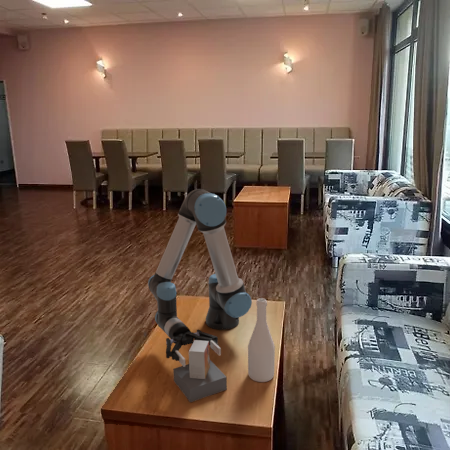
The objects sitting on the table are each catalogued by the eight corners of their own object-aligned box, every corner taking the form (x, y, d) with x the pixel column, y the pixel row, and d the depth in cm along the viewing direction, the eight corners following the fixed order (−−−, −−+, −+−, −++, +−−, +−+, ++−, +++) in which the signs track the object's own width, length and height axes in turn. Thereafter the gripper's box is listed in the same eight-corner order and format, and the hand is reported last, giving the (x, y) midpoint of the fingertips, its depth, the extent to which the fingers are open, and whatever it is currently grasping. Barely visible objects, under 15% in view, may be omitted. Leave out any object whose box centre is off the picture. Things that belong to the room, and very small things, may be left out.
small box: (205, 380, 154) (204, 352, 151) (189, 378, 155) (188, 351, 152) (210, 366, 162) (209, 340, 159) (195, 365, 163) (194, 339, 160)
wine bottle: (244, 380, 162) (244, 303, 154) (252, 366, 171) (252, 292, 163) (270, 385, 159) (271, 307, 151) (276, 370, 167) (278, 296, 160)
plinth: (208, 369, 169) (208, 357, 167) (226, 389, 157) (226, 376, 155) (173, 381, 162) (173, 368, 161) (190, 402, 150) (189, 389, 149)
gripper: (206, 332, 179) (233, 356, 161) (147, 348, 167) (169, 377, 149) (206, 314, 177) (233, 338, 159) (145, 330, 165) (168, 357, 147)
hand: (202, 357), depth 154 cm, fingers open, 13 cm apart
